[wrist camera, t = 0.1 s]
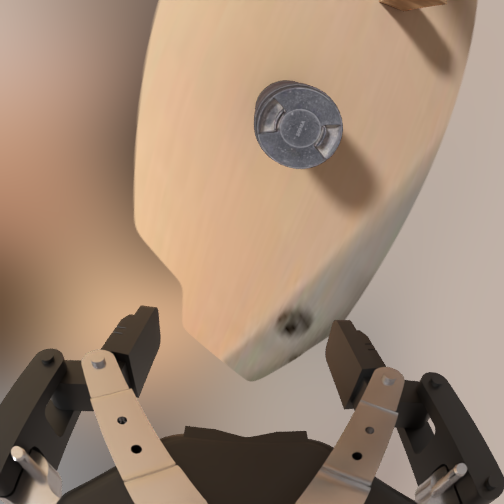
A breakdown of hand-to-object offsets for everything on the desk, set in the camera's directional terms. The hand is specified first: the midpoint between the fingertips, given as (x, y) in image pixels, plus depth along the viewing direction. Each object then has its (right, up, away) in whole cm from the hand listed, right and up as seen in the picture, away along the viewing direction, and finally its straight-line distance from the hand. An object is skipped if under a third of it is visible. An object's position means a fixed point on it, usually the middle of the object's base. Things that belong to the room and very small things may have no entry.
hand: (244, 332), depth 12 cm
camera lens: (+5, +24, +22) cm, 32 cm away
